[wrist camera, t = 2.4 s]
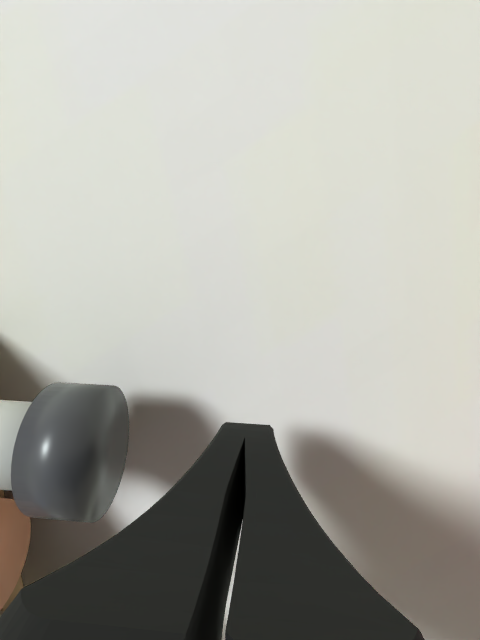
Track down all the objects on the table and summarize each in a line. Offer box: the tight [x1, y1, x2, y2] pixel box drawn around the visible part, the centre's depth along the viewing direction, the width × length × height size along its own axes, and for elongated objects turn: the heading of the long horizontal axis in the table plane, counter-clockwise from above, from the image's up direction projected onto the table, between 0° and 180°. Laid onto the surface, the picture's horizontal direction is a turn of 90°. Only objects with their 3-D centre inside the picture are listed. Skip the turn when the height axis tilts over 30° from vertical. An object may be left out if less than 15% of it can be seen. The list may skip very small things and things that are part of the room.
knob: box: [0, 382, 129, 523], centre depth 12 cm, size 4×6×4 cm, turn 89°
